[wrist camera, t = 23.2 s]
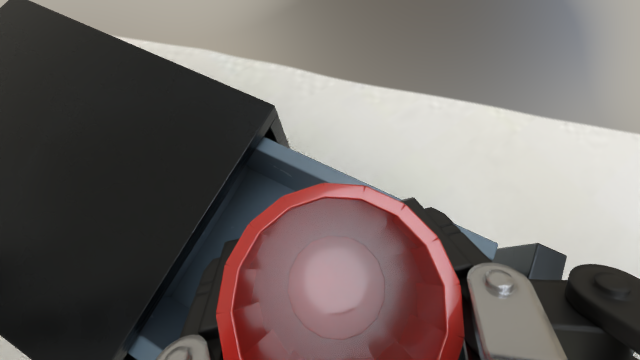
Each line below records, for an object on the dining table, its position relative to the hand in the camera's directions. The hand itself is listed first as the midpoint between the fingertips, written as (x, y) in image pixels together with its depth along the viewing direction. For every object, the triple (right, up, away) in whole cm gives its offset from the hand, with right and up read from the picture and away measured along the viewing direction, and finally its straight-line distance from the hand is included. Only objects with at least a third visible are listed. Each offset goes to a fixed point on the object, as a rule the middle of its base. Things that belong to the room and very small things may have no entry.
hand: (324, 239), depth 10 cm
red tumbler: (+1, -3, +3) cm, 5 cm away
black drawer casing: (-13, +1, +11) cm, 17 cm away
